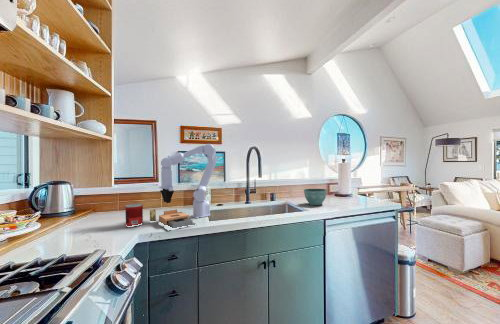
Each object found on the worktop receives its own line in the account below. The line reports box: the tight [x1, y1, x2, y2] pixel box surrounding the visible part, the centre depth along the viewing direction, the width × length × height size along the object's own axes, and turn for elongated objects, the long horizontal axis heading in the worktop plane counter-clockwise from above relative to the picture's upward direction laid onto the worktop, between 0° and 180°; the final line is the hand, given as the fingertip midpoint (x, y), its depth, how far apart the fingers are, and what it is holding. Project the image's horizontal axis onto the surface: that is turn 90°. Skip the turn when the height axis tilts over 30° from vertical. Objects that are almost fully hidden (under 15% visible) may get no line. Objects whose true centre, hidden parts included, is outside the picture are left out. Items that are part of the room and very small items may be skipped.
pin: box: [149, 208, 157, 222], centre depth 117 cm, size 3×3×7 cm
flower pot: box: [303, 188, 327, 206], centre depth 157 cm, size 16×16×11 cm
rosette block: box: [167, 218, 196, 228], centre depth 112 cm, size 14×18×3 cm
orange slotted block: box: [158, 208, 190, 225], centre depth 114 cm, size 12×11×5 cm
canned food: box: [125, 202, 144, 226], centre depth 111 cm, size 8×8×11 cm
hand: (167, 202), depth 122 cm, fingers open, 4 cm apart
